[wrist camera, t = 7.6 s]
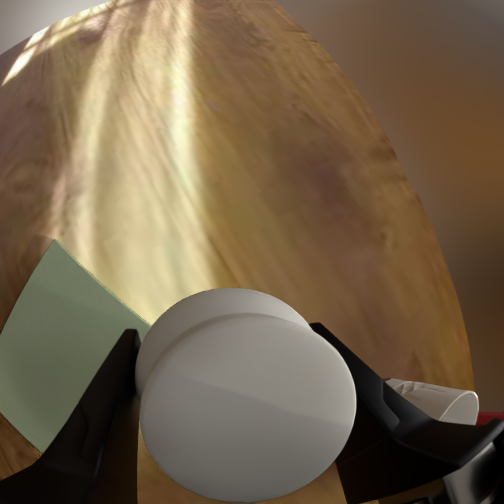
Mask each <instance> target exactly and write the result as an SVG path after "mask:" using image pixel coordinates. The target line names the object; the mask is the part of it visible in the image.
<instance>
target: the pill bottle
mask: <svg viewBox="0 0 504 504" xmlns="http://www.w3.org/2000/svg"><path fill="white" fill-rule="evenodd" d="M135 387H136V394H137V398H138V401H139V405H140V425H141V431H142V435H143V439H144V442H145V445H146V447H147V449H148V451H149V453H150V454H151V456H152V458H153V459H154V461H155V463H156V464H157V465H158V466H159V467H160V468H161V470H162V471H163V472H164V473H165V474H166V475H167V476H168V477H169V478H170V479H172V480H173V481H175V482H176V483H177V484H179V485H180V486H182V487H184V488H185V489H187V490H189V491H191V492H193V493H195V494H197V495H200V496H203V497H206V498H209V499H213V500H217V501H223V502H231V503H253V502H261V501H266V500H271V499H274V498H278V497H282V496H284V495H287V494H289V493H292V492H294V491H296V490H298V489H300V488H302V487H303V486H305V485H307V484H308V483H310V482H311V481H313V480H314V479H316V478H317V477H318V476H319V475H321V474H322V473H323V472H324V471H325V470H326V469H327V468H328V467H329V466H330V465H331V464H332V463H333V461H334V460H335V459H336V458H337V456H338V455H339V453H340V452H341V450H342V449H343V447H344V446H345V444H346V442H347V439H348V437H349V435H350V432H351V430H352V427H353V423H354V419H355V413H356V392H355V385H354V382H353V379H352V376H351V373H350V371H349V369H348V367H347V365H346V363H345V361H344V359H343V358H342V357H341V355H340V354H339V353H338V351H337V350H336V349H335V348H334V347H333V346H332V345H331V344H330V343H329V342H327V341H326V340H325V339H324V338H323V337H321V336H320V335H318V334H317V333H315V332H314V331H313V330H312V329H311V327H310V326H309V325H308V323H307V322H306V321H305V320H304V319H303V318H302V317H301V316H300V315H299V314H298V313H297V312H296V311H295V310H294V309H293V308H291V307H290V306H288V305H287V304H286V303H284V302H282V301H281V300H279V299H277V298H275V297H273V296H271V295H268V294H265V293H262V292H259V291H255V290H250V289H241V288H220V289H212V290H207V291H203V292H199V293H197V294H194V295H191V296H189V297H187V298H184V299H182V300H181V301H179V302H178V303H176V304H174V305H173V306H172V307H170V308H169V309H168V310H167V311H166V312H164V313H163V314H162V315H161V316H160V317H159V318H158V319H157V321H156V322H155V323H154V324H153V325H152V327H151V328H150V329H149V331H148V333H147V334H146V336H145V338H144V340H143V342H142V344H141V347H140V349H139V353H138V356H137V360H136V366H135Z"/></svg>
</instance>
